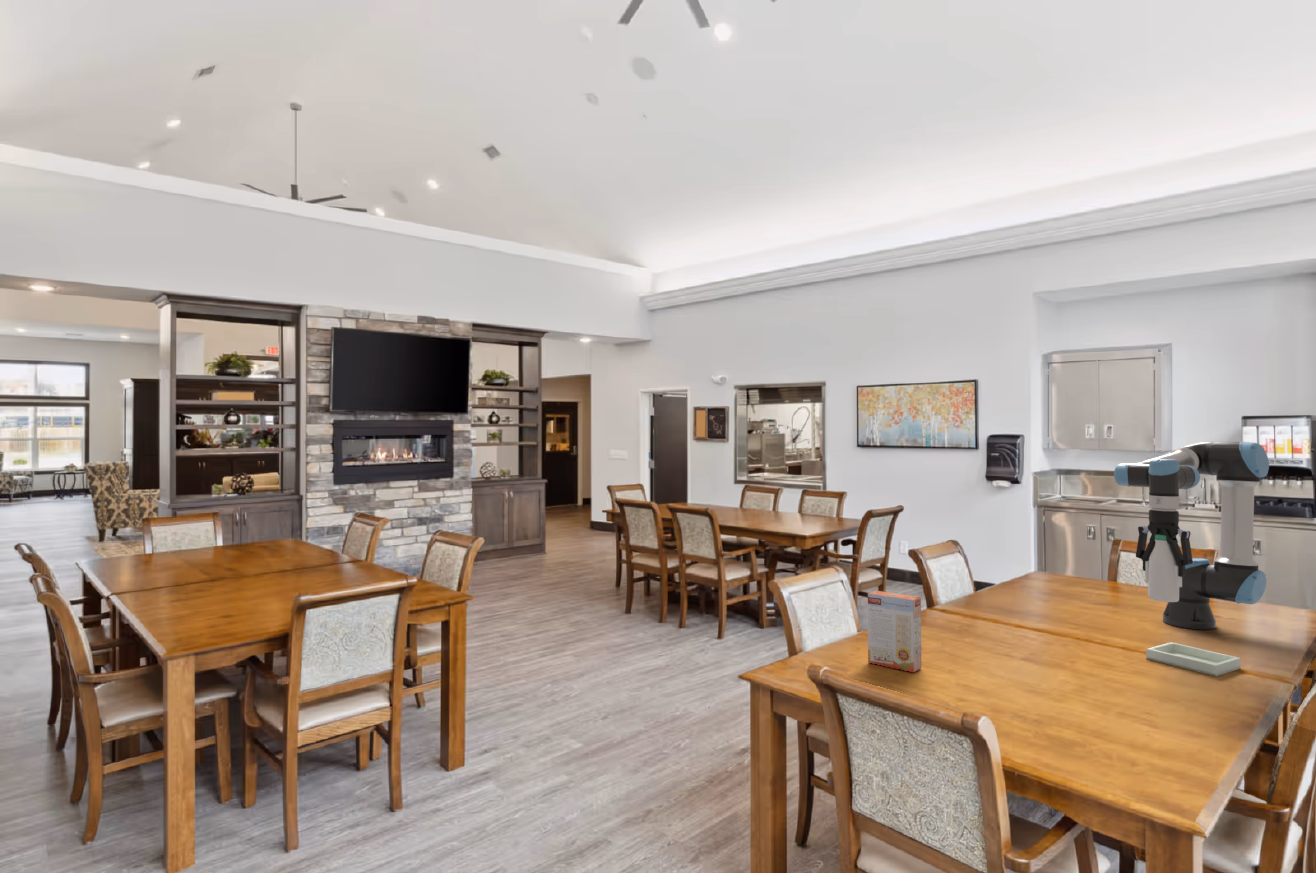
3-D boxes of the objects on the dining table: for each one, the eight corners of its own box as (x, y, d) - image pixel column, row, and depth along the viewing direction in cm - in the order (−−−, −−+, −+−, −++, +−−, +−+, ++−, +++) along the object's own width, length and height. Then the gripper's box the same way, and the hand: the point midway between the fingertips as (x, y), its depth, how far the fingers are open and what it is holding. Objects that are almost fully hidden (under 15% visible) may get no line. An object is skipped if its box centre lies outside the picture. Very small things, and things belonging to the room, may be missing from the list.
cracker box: (922, 668, 206) (922, 596, 206) (913, 673, 202) (913, 599, 202) (876, 658, 216) (876, 589, 216) (867, 663, 211) (867, 592, 211)
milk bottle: (1184, 603, 214) (1184, 536, 214) (1154, 601, 215) (1155, 535, 215) (1171, 597, 221) (1172, 533, 221) (1143, 596, 223) (1143, 532, 223)
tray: (1171, 651, 222) (1171, 642, 222) (1240, 668, 206) (1240, 657, 206) (1146, 658, 215) (1146, 648, 215) (1216, 676, 199) (1216, 665, 199)
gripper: (1121, 507, 226) (1121, 579, 226) (1194, 513, 208) (1194, 592, 208) (1135, 506, 229) (1135, 577, 229) (1208, 512, 211) (1208, 589, 211)
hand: (1163, 584), depth 218 cm, fingers closed on milk bottle, 7 cm apart
